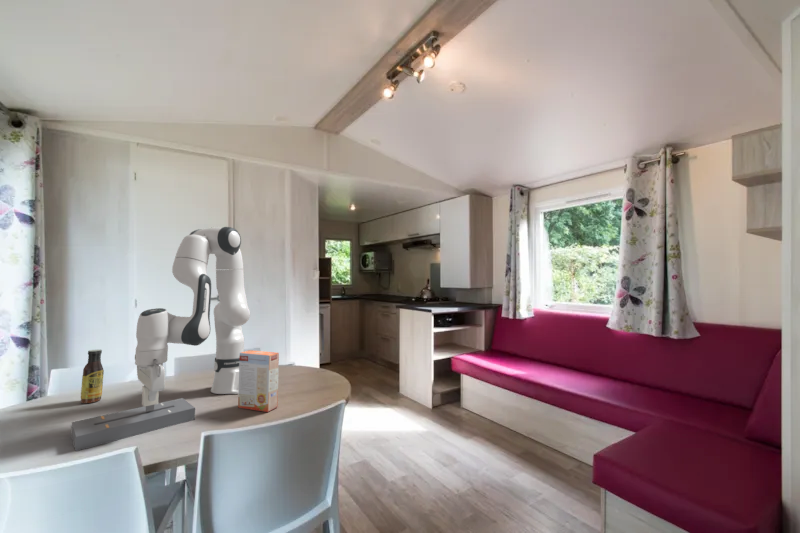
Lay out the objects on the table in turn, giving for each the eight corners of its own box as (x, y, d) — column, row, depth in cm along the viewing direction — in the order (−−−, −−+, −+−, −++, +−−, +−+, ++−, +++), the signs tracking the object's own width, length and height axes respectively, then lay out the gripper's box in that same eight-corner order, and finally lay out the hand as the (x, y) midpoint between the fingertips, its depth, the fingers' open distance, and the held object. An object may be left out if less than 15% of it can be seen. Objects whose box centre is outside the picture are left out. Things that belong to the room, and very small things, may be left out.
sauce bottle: (88, 404, 130) (91, 352, 131) (75, 403, 131) (78, 351, 132) (106, 399, 137) (108, 349, 137) (94, 397, 138) (96, 348, 139)
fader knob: (155, 407, 117) (156, 383, 117) (158, 409, 115) (159, 385, 115) (141, 410, 114) (142, 386, 114) (143, 413, 112) (144, 388, 112)
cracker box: (278, 407, 130) (279, 352, 131) (267, 413, 124) (268, 355, 125) (249, 402, 134) (250, 349, 135) (237, 408, 129) (238, 352, 130)
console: (182, 408, 127) (182, 397, 128) (194, 419, 118) (195, 407, 118) (71, 435, 105) (71, 421, 105) (75, 451, 96) (76, 436, 96)
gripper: (171, 361, 110) (169, 404, 110) (155, 351, 124) (153, 389, 124) (147, 364, 106) (146, 409, 105) (133, 354, 119) (132, 394, 119)
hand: (150, 398), depth 114 cm, fingers closed on fader knob, 3 cm apart
